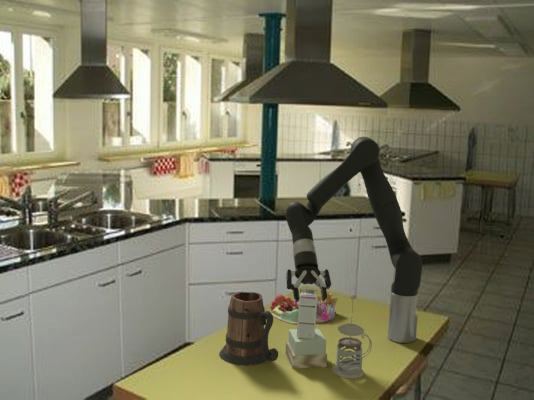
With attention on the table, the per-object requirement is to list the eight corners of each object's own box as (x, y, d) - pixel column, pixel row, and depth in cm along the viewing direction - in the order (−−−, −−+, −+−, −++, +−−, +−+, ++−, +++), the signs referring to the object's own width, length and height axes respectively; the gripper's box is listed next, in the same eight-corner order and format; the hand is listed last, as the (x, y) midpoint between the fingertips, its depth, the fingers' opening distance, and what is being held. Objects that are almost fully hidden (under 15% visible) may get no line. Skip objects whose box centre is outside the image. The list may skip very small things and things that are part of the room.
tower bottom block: (317, 353, 194) (318, 340, 194) (326, 368, 184) (327, 354, 183) (285, 354, 192) (286, 341, 192) (292, 369, 182) (293, 356, 181)
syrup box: (314, 339, 183) (318, 295, 181) (296, 337, 183) (299, 293, 181) (314, 332, 189) (318, 289, 186) (296, 330, 189) (300, 288, 187)
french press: (329, 364, 186) (334, 289, 182) (365, 364, 187) (370, 289, 183) (335, 378, 176) (340, 299, 172) (373, 378, 177) (379, 300, 173)
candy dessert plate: (297, 300, 247) (298, 279, 245) (346, 313, 233) (347, 291, 231) (261, 316, 227) (262, 293, 225) (312, 331, 213) (314, 307, 211)
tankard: (208, 351, 191) (210, 293, 188) (248, 339, 202) (250, 284, 199) (254, 378, 174) (256, 315, 171) (294, 363, 185) (297, 303, 182)
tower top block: (317, 341, 193) (318, 328, 192) (325, 354, 183) (326, 340, 183) (288, 342, 191) (289, 329, 191) (294, 355, 182) (295, 341, 181)
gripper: (285, 249, 189) (291, 295, 179) (328, 249, 191) (335, 294, 182) (282, 261, 195) (287, 305, 185) (323, 261, 197) (330, 305, 188)
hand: (311, 300), depth 184 cm, fingers open, 8 cm apart
